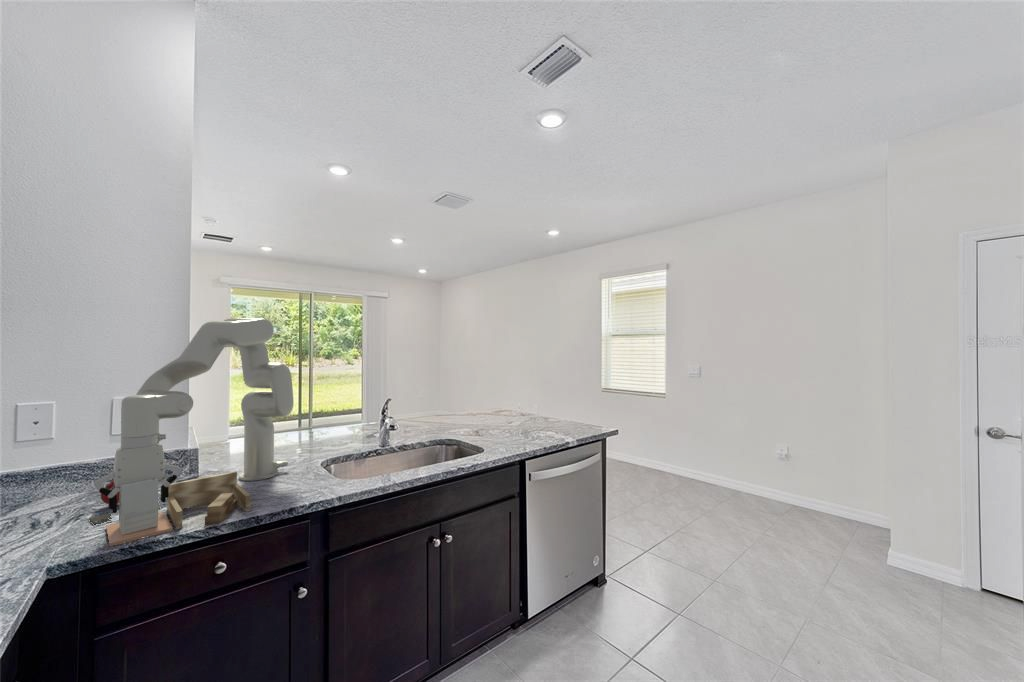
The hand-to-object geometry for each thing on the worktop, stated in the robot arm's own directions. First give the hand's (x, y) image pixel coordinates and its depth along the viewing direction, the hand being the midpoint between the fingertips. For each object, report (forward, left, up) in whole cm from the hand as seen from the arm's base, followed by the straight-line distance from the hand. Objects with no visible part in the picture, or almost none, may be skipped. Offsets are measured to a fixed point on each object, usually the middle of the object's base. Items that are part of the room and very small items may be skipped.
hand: (139, 505), depth 109 cm
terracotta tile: (0, 0, -6) cm, 6 cm away
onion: (+4, -27, -6) cm, 28 cm away
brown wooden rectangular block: (-17, +5, -7) cm, 19 cm away
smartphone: (+1, -16, -7) cm, 17 cm away
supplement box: (0, 0, -6) cm, 6 cm away
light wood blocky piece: (-16, -2, -6) cm, 17 cm away
